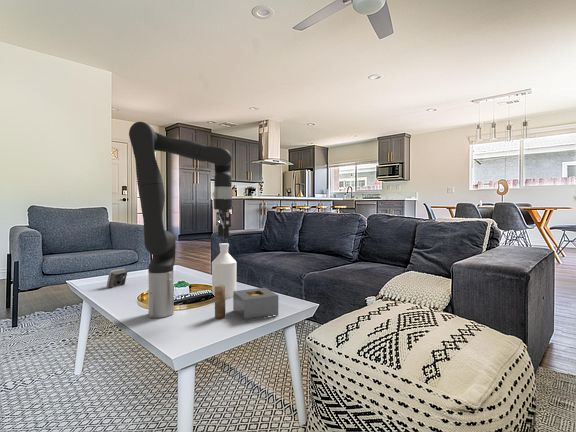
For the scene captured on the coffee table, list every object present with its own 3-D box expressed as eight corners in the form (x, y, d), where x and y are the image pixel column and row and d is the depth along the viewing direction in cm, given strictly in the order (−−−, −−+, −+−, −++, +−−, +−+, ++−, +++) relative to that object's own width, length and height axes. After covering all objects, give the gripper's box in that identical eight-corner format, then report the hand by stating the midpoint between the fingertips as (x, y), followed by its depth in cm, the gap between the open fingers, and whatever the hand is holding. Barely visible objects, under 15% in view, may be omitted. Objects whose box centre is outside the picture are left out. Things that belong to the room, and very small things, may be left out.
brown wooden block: (216, 319, 123) (216, 288, 122) (213, 316, 126) (213, 285, 126) (226, 318, 124) (226, 287, 124) (223, 315, 128) (223, 284, 128)
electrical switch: (120, 284, 181) (121, 267, 181) (127, 285, 179) (128, 269, 179) (105, 287, 172) (106, 270, 172) (113, 289, 171) (114, 272, 170)
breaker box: (244, 321, 121) (244, 299, 121) (233, 310, 134) (233, 291, 133) (278, 315, 127) (278, 295, 127) (264, 306, 140) (264, 287, 140)
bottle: (238, 292, 163) (237, 242, 163) (235, 298, 152) (234, 245, 151) (214, 292, 163) (214, 242, 163) (209, 298, 151) (209, 245, 151)
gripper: (210, 198, 140) (210, 236, 140) (218, 197, 127) (218, 238, 127) (227, 198, 143) (227, 235, 143) (236, 197, 130) (237, 238, 130)
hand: (223, 237), depth 135 cm, fingers open, 8 cm apart
